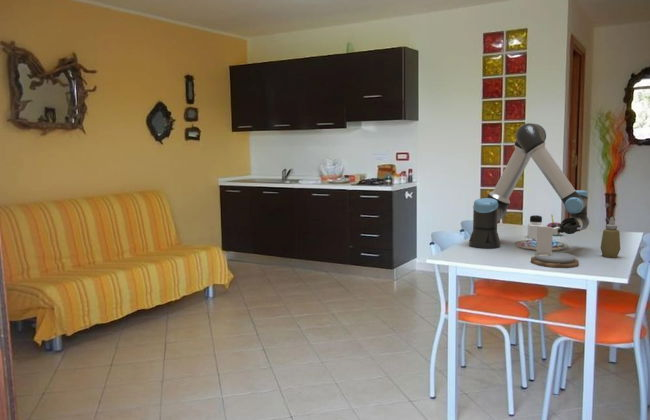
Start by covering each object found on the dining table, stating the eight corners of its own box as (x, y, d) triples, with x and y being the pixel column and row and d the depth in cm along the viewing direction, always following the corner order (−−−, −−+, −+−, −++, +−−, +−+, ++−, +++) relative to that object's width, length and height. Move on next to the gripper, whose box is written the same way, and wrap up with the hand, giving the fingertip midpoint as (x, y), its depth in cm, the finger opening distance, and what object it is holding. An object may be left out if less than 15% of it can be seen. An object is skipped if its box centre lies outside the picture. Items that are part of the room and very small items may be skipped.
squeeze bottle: (597, 256, 252) (599, 217, 250) (603, 253, 258) (605, 215, 255) (616, 259, 246) (618, 218, 244) (622, 256, 252) (624, 217, 250)
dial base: (523, 263, 238) (523, 259, 238) (540, 256, 252) (540, 252, 252) (569, 270, 226) (569, 265, 226) (584, 262, 240) (585, 258, 240)
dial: (528, 259, 238) (529, 228, 237) (542, 253, 250) (544, 224, 249) (567, 264, 228) (568, 232, 226) (580, 258, 240) (581, 227, 238)
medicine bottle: (543, 238, 298) (544, 216, 297) (529, 238, 300) (530, 216, 298) (541, 236, 305) (541, 214, 304) (527, 236, 307) (528, 214, 305)
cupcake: (547, 235, 307) (548, 214, 306) (545, 233, 315) (546, 212, 314) (564, 236, 305) (565, 214, 304) (561, 233, 313) (562, 212, 312)
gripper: (585, 234, 257) (568, 241, 240) (557, 231, 266) (538, 238, 248) (586, 218, 256) (569, 224, 239) (557, 216, 265) (538, 222, 247)
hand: (553, 231), depth 243 cm, fingers closed
